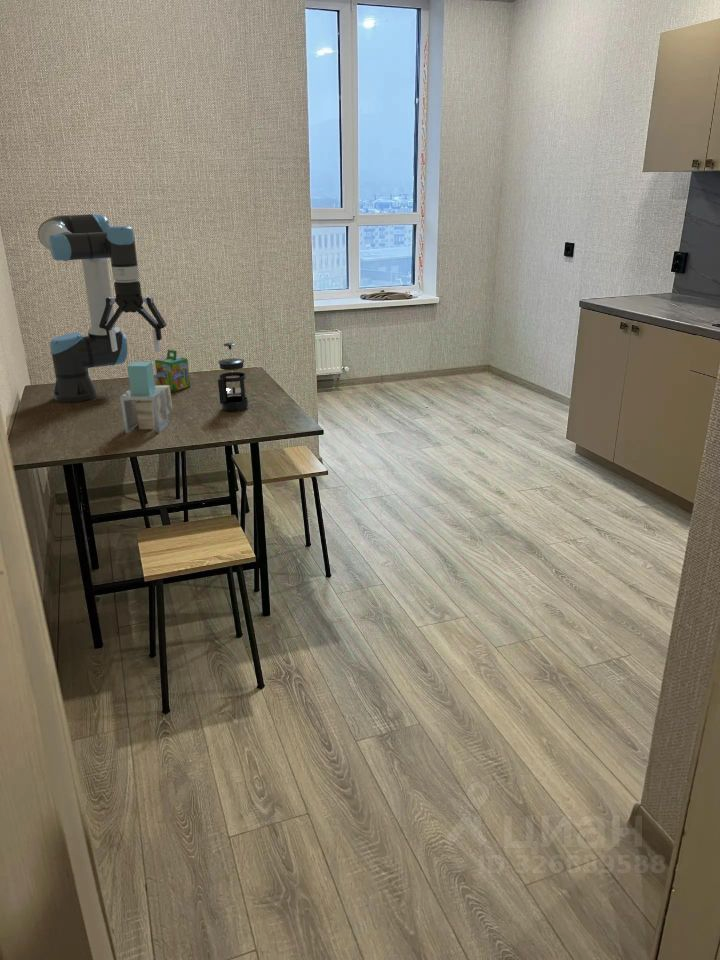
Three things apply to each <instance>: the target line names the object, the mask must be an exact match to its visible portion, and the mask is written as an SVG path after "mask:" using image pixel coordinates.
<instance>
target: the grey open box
mask: <svg viewBox="0 0 720 960" xmlns="http://www.w3.org/2000/svg"><path fill="white" fill-rule="evenodd" d="M160 395H161V399H162V407H163V415H164V419H163V420H162V421H161V422H160V423H159V419H158V411H157V403H156V398H157V397H159V396H160ZM119 400H120V407H121V411H122V413H121V414H122V419H123V427H124V433H125V434H130V432H131V431H133V430H134V429H135V428H136V427H137V426H139V425H138V418H137V411H136V404H135V403H136V402H137V401H138V400H152V405H153V413H154V420H155V427H156V428H155V434H160V433H161V432H162V431H163V430H164V429H165V428H166V427H167V426H168V425H169V416H168V415H169V414H168V415H167V407H166V399H165V391H164V388H156V389H155V390H154V391H153V392H152V393H151V394H131V390H130V389H129V390H127V391H126V392H124V393H123V394H122V395H120V397H119Z"/></svg>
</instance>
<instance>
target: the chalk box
mask: <svg viewBox="0 0 720 960" xmlns="http://www.w3.org/2000/svg"><path fill="white" fill-rule="evenodd" d="M171 354H173V355H172V356H171ZM154 365H155V372H156V373H155V375H156V383H157V385H170V392H174V393H175V392H177V391H180V390H184V389H186V388H190V387H191V381H190V370H189V360H188V358H186V357H180V356H177V350H171V349H167V355H166V357H164V358H163V357H162V358H159V359H158V358H157V359H155V360H154Z"/></svg>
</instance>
